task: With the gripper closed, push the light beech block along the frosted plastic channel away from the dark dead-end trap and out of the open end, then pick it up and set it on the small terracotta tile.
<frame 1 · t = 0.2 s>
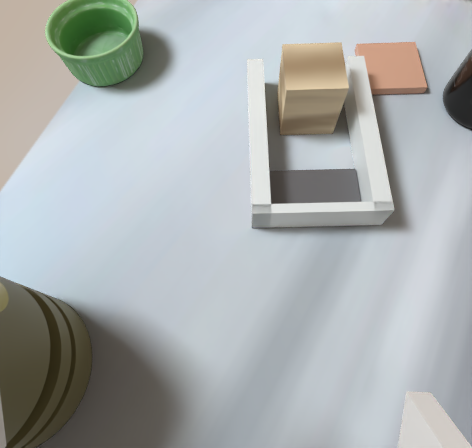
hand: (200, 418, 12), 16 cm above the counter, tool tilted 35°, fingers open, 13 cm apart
tile: (388, 70, 37), on the counter
channel: (308, 147, 34), on the counter
ramekin: (107, 60, 39), on the counter
piston: (18, 369, 28), on the counter
block: (304, 113, 36), on the counter
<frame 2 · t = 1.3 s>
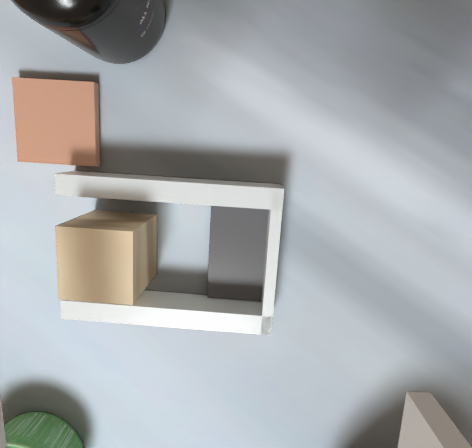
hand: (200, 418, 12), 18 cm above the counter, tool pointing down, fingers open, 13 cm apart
tile: (60, 123, 28), on the counter
channel: (175, 246, 29), on the counter
ramekin: (44, 444, 34), on the counter
block: (126, 242, 29), on the counter
supplement bottle: (121, 14, 26), on the counter
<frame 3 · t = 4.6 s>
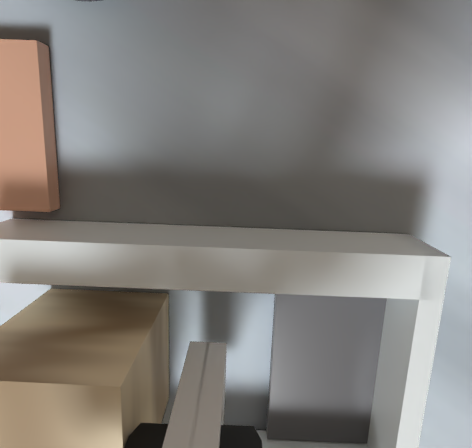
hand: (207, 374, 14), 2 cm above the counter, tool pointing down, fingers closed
channel: (206, 349, 16), on the counter
block: (112, 344, 16), on the counter, touching gripper
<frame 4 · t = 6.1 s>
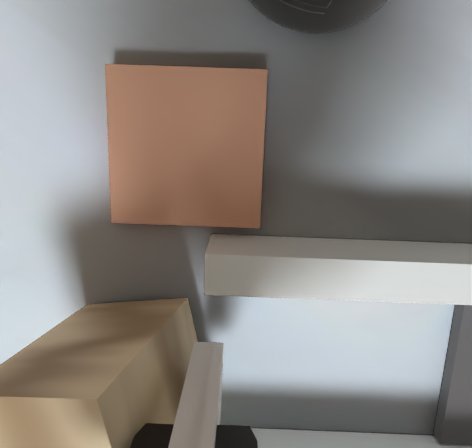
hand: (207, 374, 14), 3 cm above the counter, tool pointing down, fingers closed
tile: (188, 149, 15), on the counter
channel: (384, 357, 17), on the counter
block: (148, 352, 16), point 1 cm above the counter, tilted 15°, touching gripper
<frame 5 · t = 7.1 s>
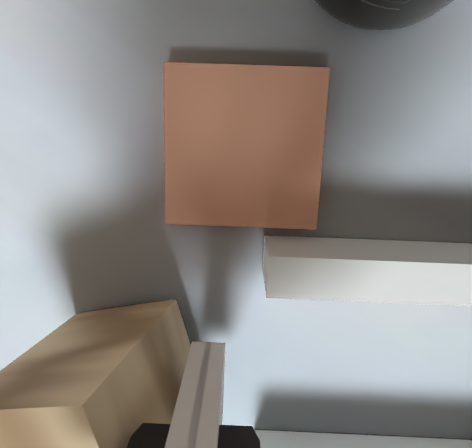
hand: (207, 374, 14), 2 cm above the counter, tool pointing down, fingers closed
tile: (243, 149, 15), on the counter
channel: (436, 361, 16), on the counter
block: (142, 357, 16), on the counter, tilted 13°, touching gripper
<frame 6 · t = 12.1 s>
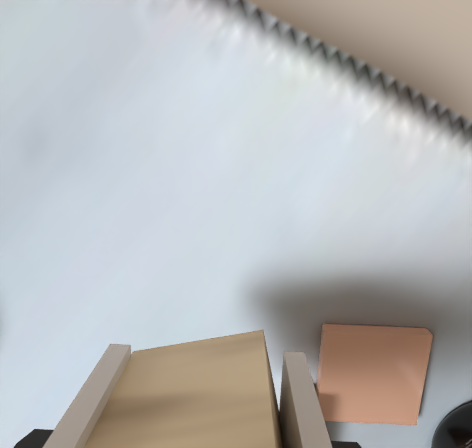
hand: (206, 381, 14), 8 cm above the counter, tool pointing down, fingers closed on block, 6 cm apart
tile: (367, 370, 22), on the counter
block: (211, 398, 14), point 7 cm above the counter, touching gripper
when the fingers open (1 cm above the counter, at t = 15.6 s): block stays where it is, resting on tile.
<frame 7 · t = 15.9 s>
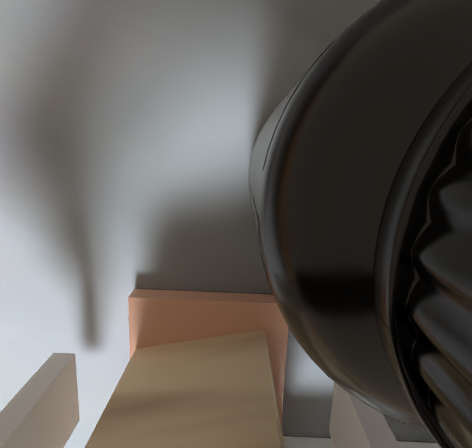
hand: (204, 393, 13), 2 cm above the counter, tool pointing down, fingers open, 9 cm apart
tile: (209, 360, 15), on the counter
block: (212, 395, 14), point 1 cm above the counter, touching tile
supplement bottle: (340, 173, 13), on the counter
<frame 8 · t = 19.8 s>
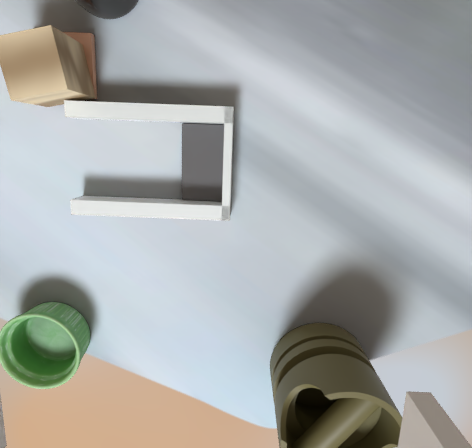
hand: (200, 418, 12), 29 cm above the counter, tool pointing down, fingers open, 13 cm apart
tile: (66, 66, 36), on the counter
channel: (156, 161, 38), on the counter
ramekin: (58, 331, 43), on the counter
piston: (316, 365, 44), on the counter
block: (64, 76, 36), point 1 cm above the counter, touching tile
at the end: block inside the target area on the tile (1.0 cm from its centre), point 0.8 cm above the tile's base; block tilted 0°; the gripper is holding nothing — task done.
